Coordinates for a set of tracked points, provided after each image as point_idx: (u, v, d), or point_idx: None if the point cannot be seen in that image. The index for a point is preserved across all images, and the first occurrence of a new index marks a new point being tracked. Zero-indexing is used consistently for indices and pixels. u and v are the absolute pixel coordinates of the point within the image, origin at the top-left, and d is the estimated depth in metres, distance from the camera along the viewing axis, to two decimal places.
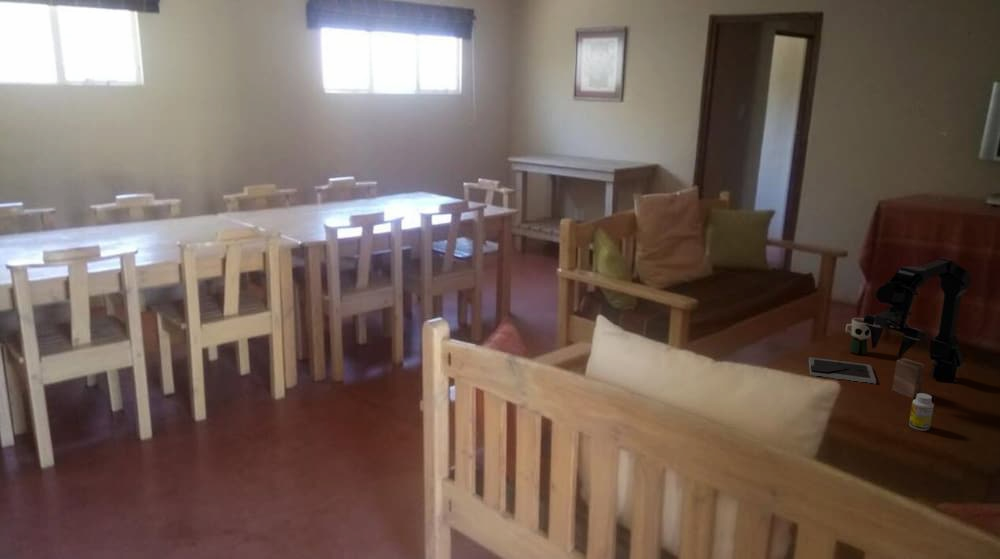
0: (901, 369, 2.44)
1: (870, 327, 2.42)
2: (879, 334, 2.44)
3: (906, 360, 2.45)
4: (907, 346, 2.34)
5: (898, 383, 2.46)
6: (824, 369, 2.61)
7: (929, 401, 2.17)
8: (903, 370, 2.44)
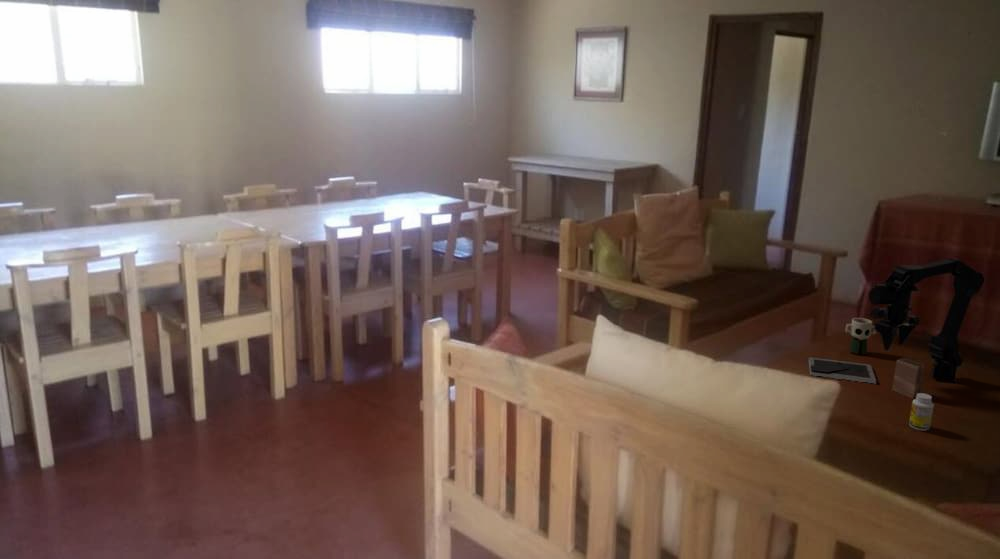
0: (901, 369, 2.44)
1: None
2: (906, 332, 2.52)
3: (906, 360, 2.45)
4: (887, 339, 2.47)
5: (898, 383, 2.46)
6: (824, 369, 2.61)
7: (929, 401, 2.17)
8: (903, 370, 2.44)
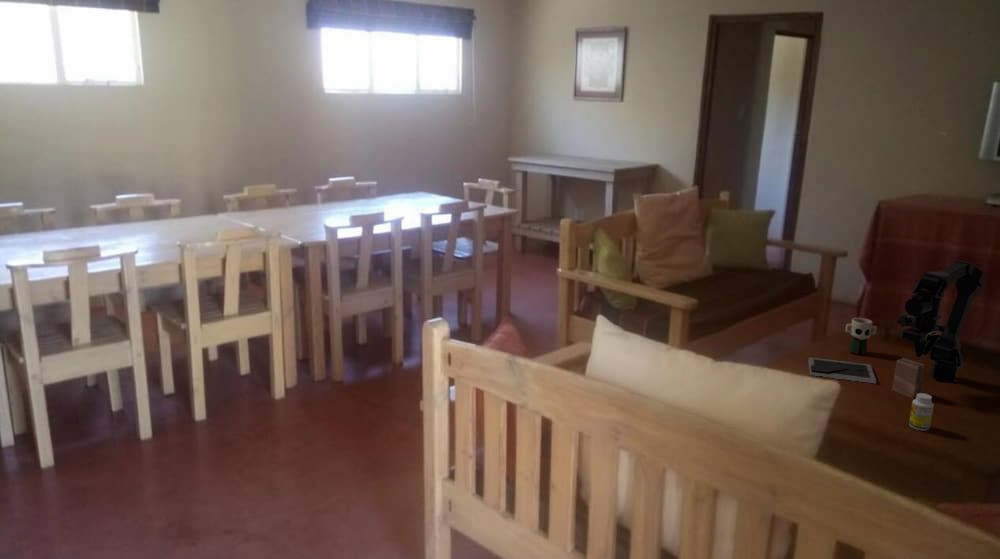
0: (901, 369, 2.44)
1: None
2: (930, 342, 2.46)
3: (906, 360, 2.45)
4: (919, 346, 2.44)
5: (898, 383, 2.46)
6: (824, 369, 2.61)
7: (929, 401, 2.17)
8: (903, 370, 2.44)
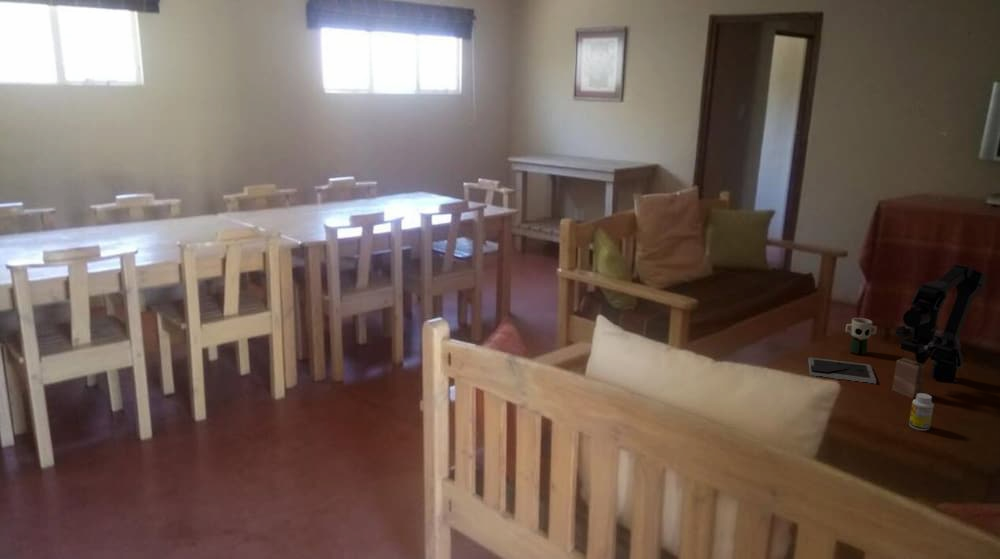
0: (901, 369, 2.44)
1: None
2: None
3: (906, 360, 2.45)
4: (920, 356, 2.46)
5: (898, 383, 2.46)
6: (824, 369, 2.61)
7: (929, 401, 2.17)
8: (903, 370, 2.44)
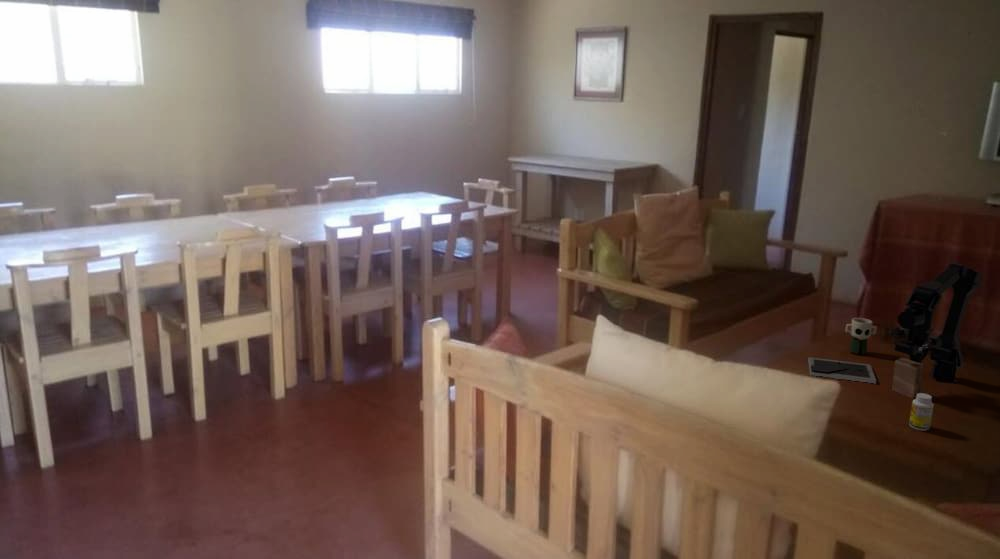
0: (900, 369, 2.44)
1: None
2: None
3: (905, 360, 2.45)
4: (915, 358, 2.44)
5: (898, 383, 2.46)
6: (824, 369, 2.61)
7: (929, 401, 2.17)
8: (902, 370, 2.44)
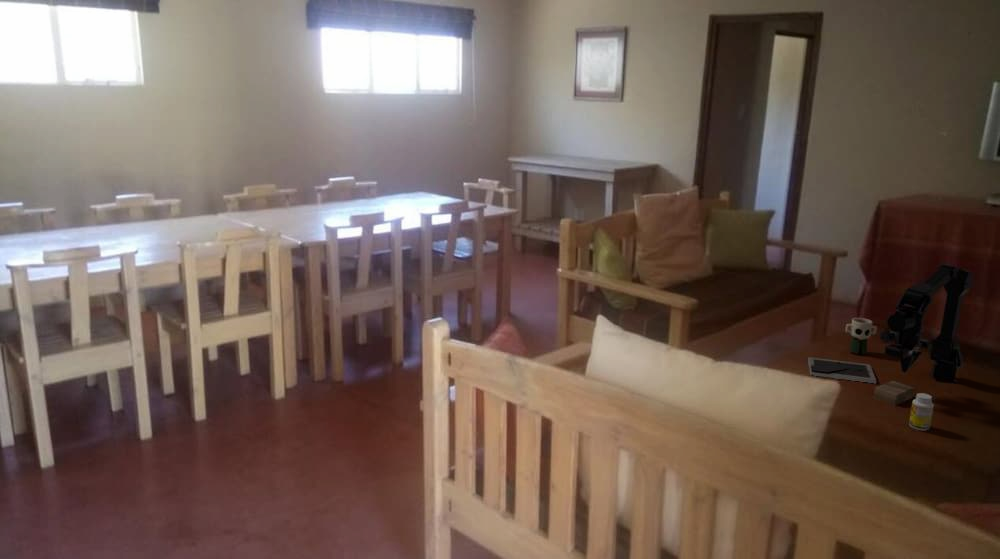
0: None
1: None
2: None
3: (879, 394, 2.40)
4: (905, 361, 2.41)
5: None
6: (824, 369, 2.61)
7: (929, 401, 2.17)
8: None
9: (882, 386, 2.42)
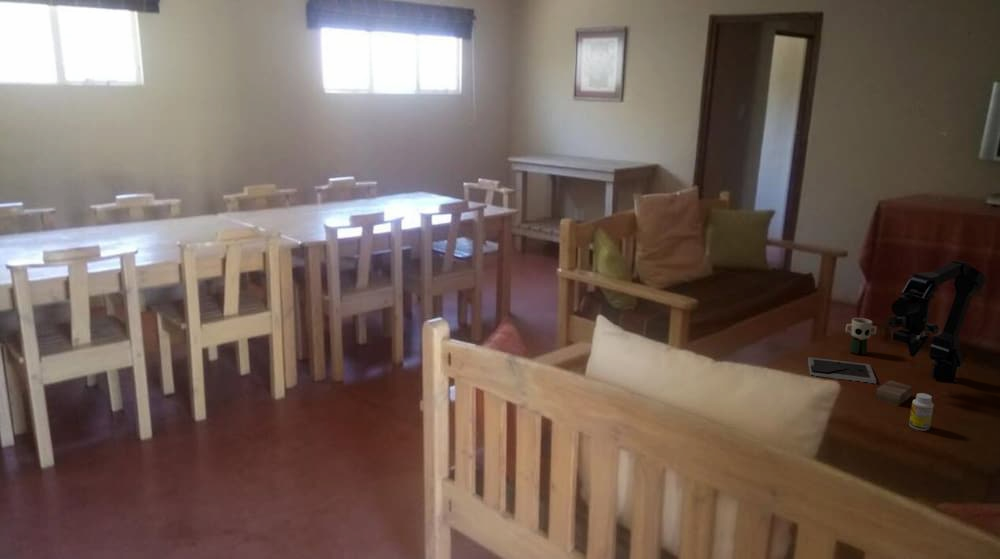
0: None
1: None
2: None
3: (882, 395, 2.39)
4: (913, 346, 2.45)
5: None
6: (824, 369, 2.60)
7: (929, 401, 2.17)
8: None
9: (883, 387, 2.42)
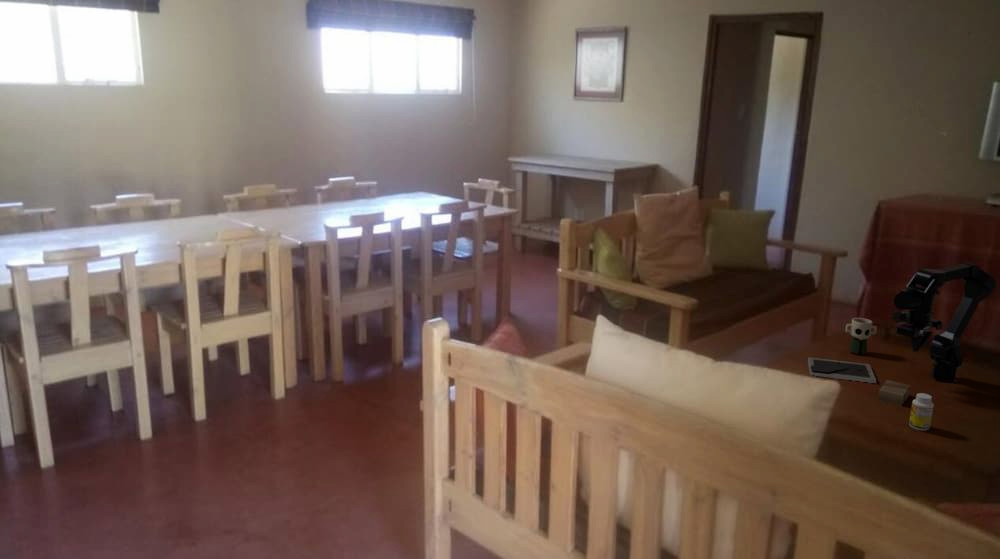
0: None
1: None
2: None
3: (885, 396, 2.39)
4: (916, 341, 2.49)
5: None
6: (824, 369, 2.60)
7: (929, 401, 2.17)
8: None
9: (884, 387, 2.41)
